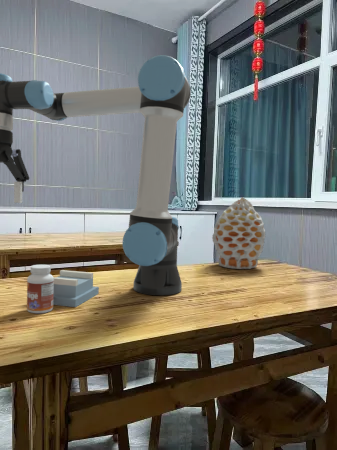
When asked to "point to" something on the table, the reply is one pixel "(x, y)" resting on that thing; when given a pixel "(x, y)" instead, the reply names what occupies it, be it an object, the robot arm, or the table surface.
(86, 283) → the pedestal
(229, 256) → the sculpture
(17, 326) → the table surface
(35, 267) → the pill bottle
